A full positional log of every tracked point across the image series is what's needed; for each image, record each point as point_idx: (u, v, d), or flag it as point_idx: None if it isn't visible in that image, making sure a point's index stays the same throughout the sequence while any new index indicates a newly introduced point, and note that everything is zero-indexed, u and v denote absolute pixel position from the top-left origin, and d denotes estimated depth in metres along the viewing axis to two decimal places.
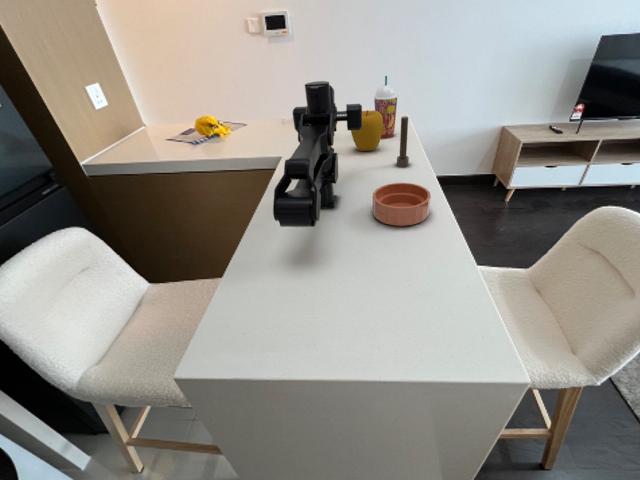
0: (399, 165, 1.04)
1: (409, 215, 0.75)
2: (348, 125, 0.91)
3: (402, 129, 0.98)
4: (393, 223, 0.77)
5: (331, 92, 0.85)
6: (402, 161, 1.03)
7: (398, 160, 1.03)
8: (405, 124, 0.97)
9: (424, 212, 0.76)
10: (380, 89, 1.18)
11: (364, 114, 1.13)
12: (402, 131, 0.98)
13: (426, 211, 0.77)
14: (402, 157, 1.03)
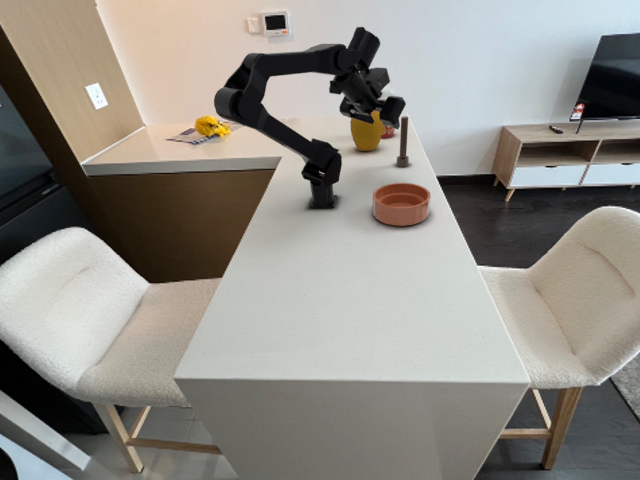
0: (399, 165, 1.04)
1: (409, 215, 0.75)
2: (381, 111, 0.82)
3: (402, 129, 0.98)
4: (393, 223, 0.77)
5: (383, 72, 0.82)
6: (402, 161, 1.03)
7: (398, 160, 1.03)
8: (405, 124, 0.97)
9: (424, 212, 0.76)
10: None
11: None
12: (402, 131, 0.98)
13: (426, 211, 0.77)
14: (402, 157, 1.03)
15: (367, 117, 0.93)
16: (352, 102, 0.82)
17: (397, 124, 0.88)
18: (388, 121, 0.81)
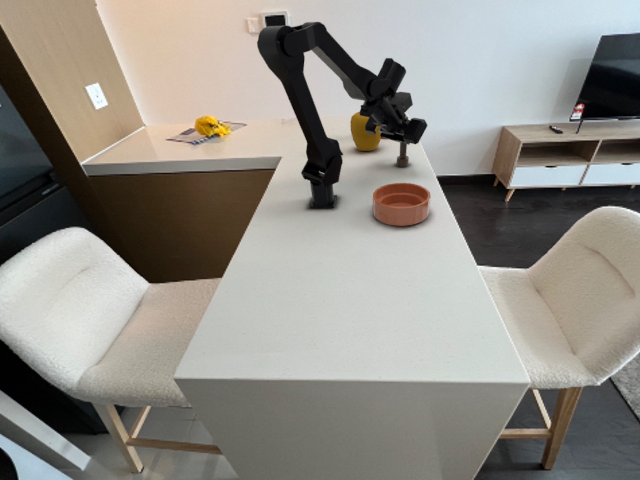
0: (399, 165, 1.04)
1: (409, 215, 0.75)
2: (405, 131, 0.91)
3: None
4: (393, 223, 0.77)
5: (407, 97, 0.91)
6: (402, 161, 1.03)
7: (398, 160, 1.03)
8: None
9: (424, 212, 0.76)
10: None
11: None
12: None
13: (426, 211, 0.77)
14: (402, 157, 1.03)
15: None
16: (378, 123, 0.91)
17: None
18: (411, 140, 0.90)
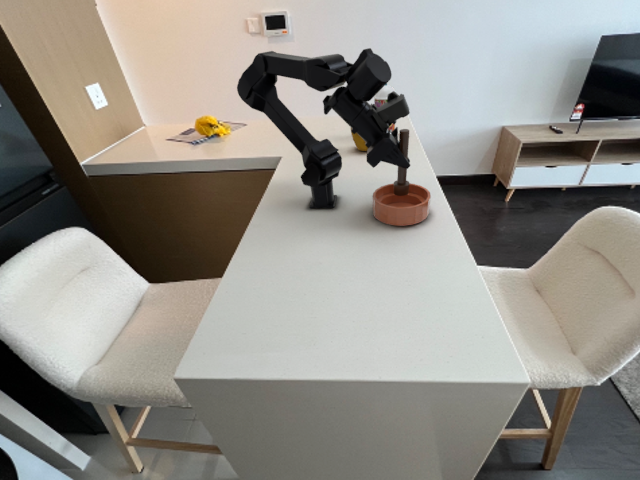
0: (393, 191, 0.79)
1: (409, 215, 0.75)
2: (369, 147, 0.68)
3: (399, 145, 0.72)
4: (393, 223, 0.77)
5: (395, 103, 0.65)
6: (395, 187, 0.77)
7: None
8: (401, 140, 0.71)
9: (424, 212, 0.76)
10: None
11: None
12: (399, 148, 0.73)
13: (426, 211, 0.77)
14: (398, 182, 0.77)
15: None
16: None
17: (402, 162, 0.73)
18: None
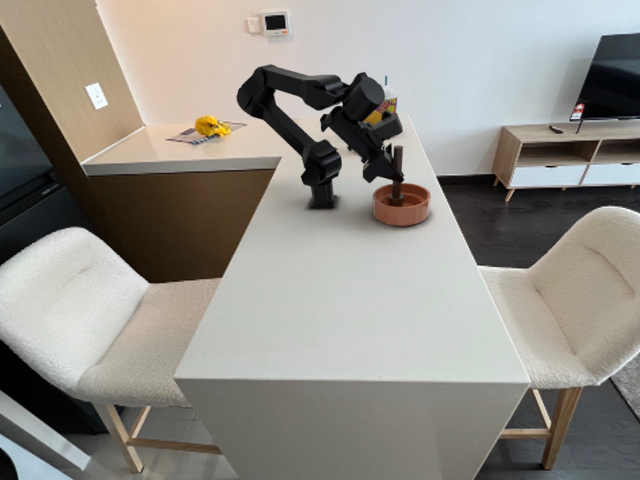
0: (388, 203, 0.82)
1: (409, 215, 0.75)
2: (365, 164, 0.71)
3: (393, 161, 0.75)
4: (393, 223, 0.77)
5: (389, 121, 0.68)
6: (390, 200, 0.80)
7: None
8: (395, 156, 0.74)
9: (424, 212, 0.76)
10: None
11: None
12: (393, 163, 0.76)
13: (426, 211, 0.77)
14: (392, 195, 0.80)
15: None
16: None
17: (396, 177, 0.76)
18: None
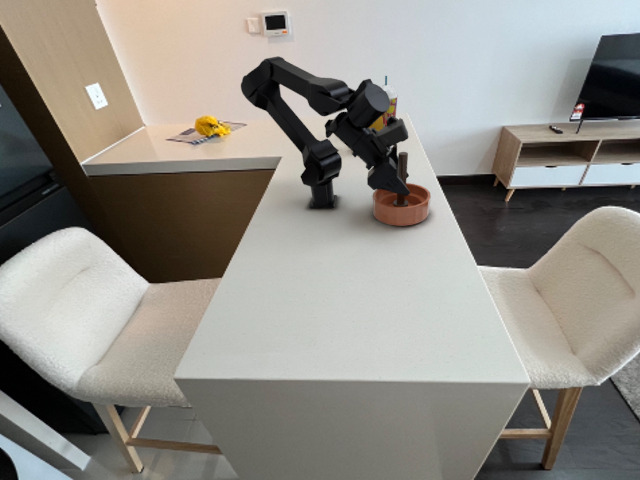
0: None
1: (409, 215, 0.75)
2: (370, 170, 0.70)
3: (398, 167, 0.75)
4: (393, 223, 0.77)
5: (394, 128, 0.68)
6: (394, 206, 0.80)
7: (393, 203, 0.81)
8: (400, 162, 0.73)
9: (424, 212, 0.76)
10: None
11: None
12: (398, 170, 0.75)
13: (426, 211, 0.77)
14: (397, 201, 0.80)
15: None
16: None
17: (402, 190, 0.72)
18: None
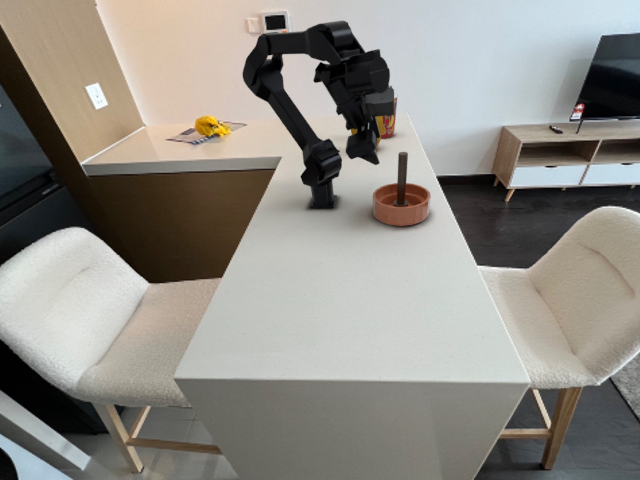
0: None
1: (409, 215, 0.75)
2: (350, 136, 0.71)
3: (398, 167, 0.75)
4: (393, 223, 0.77)
5: (385, 101, 0.67)
6: (394, 206, 0.80)
7: (393, 203, 0.81)
8: (400, 162, 0.73)
9: (424, 212, 0.76)
10: None
11: None
12: (398, 170, 0.75)
13: (426, 211, 0.77)
14: (397, 201, 0.80)
15: (372, 128, 0.81)
16: None
17: (373, 160, 0.76)
18: None
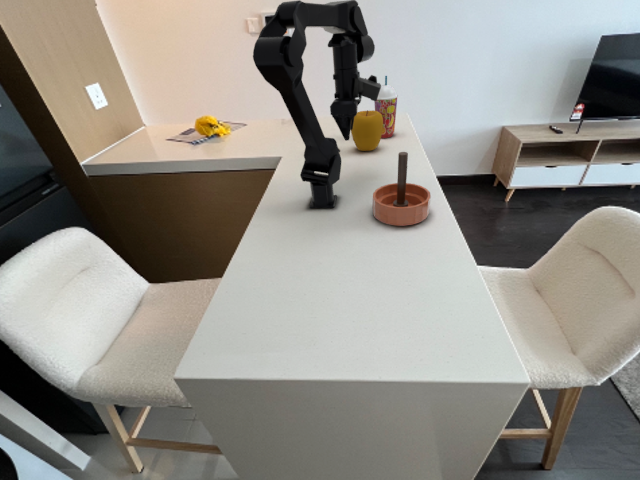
0: None
1: (409, 215, 0.75)
2: None
3: (398, 167, 0.75)
4: (393, 223, 0.77)
5: (374, 85, 0.81)
6: (394, 206, 0.80)
7: (393, 203, 0.81)
8: (400, 162, 0.73)
9: (424, 212, 0.76)
10: (380, 89, 1.18)
11: (364, 114, 1.13)
12: (398, 170, 0.75)
13: (426, 211, 0.77)
14: (397, 201, 0.80)
15: None
16: None
17: (345, 133, 0.86)
18: None
